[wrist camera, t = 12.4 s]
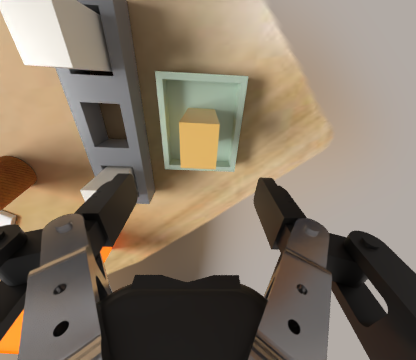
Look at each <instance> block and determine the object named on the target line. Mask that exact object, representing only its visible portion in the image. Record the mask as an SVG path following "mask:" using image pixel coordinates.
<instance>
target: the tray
mask: <svg viewBox="0 0 416 360" xmlns="http://www.w3.org/2000/svg"><path fill="white" fill-rule="evenodd" d="M155 77H156V86H157V96H158V106H159V116H160V126H161V135H162V145H163V155H164V165H165V169H173V170H201V171H229V172H234V170H235V163H236V156H237V150H238V143H239V136H240V130H241V123H242V116H243V110H244V103H245V96H246V89H247V83H248V76H235V75H217V74H200V73H182V72H164V71H155ZM188 108H203V109H215V111H216V114H217V117H218V120H219V123H220V128H219V139H218V151H217V162H216V169H194V168H181V163H180V136H179V121H180V120H181V118H182V117H183V115H184V114H185V112H186V110H187V109H188Z"/></svg>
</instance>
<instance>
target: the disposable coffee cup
mask: <svg viewBox="0 0 416 360" xmlns="http://www.w3.org/2000/svg"><path fill="white" fill-rule="evenodd" d="M35 182H36V174H35V172H34V171H33V169H32V168H31V167H30V166H29V165H28V164H26V163H25V162H23V161H22V160H20V159H17V158H15V157H11V156H2V157H0V211H1V210H2V209H3V208H4V207H6V206H7V205H8V204H9V203H10V202H12V201H13V200H14V199H16V198H17V197H18V196H19V195H21V194H22V193H23V192H24V191H25V190H27V189H28V188H29V187H30V186H32V185H33V184H34V183H35Z"/></svg>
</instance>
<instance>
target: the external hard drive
mask: <svg viewBox="0 0 416 360" xmlns="http://www.w3.org/2000/svg"><path fill="white" fill-rule="evenodd" d="M15 220H16V215H13V214H11V213H8V212H5V211H3V210H1V211H0V226H4V225H15Z"/></svg>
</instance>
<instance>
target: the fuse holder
mask: <svg viewBox="0 0 416 360" xmlns="http://www.w3.org/2000/svg"><path fill="white" fill-rule="evenodd" d="M77 1H78V2H80V3H81V4H83V5H85V6H86V7H88V8H89V9H91V10H93V11H94V12H96V13H97V14H99V15H101V20H102V25H103V29H104V34H105V39H106V43H107V48H108V53H109V57H110V62H111V66H112V71H113V76H100V75H91V74H90V71H89V70H78V69H66V68H56V71H57V74H58V76H59V79H60V82H61V85H62V87H63V90H64V93H65V96H66V98H67V101H68V104H69V107H70V109H71V112H72V115H73V118H74V120H75V123H76V126H77V129H78V131H79V134H80V137H81V140H82V142H83V145H84V148H85V151H86V153H87V156H88V159H89V162H90V164H91V167H92V170H93V173H94V175H95V177H96V176H97V175H98V174H99V173H100V172H101V171H102V170H104V169H105V168H106V167H107V166H130V167H133V169H134V173H135V178H136V183H137V187H138V193H137V195H138V198H137V204H150V201H151V199H152V197H153V195H154V193H155V186H154V180H153V173H152V166H151V160H150V153H149V146H148V139H147V133H146V126H145V119H144V113H143V106H142V99H141V93H140V86H139V79H138V72H137V66H136V59H135V52H134V46H133V39H132V32H131V25H130V19H129V12H128V5H127V1H126V0H77ZM99 103H110V104H120V108H121V113H122V118H123V122H124V127H125V131H126V136H127V139H108V135H107V132H106V128H105V124H104V121H103V117H102V114H101V110H100V106H99Z"/></svg>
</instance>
